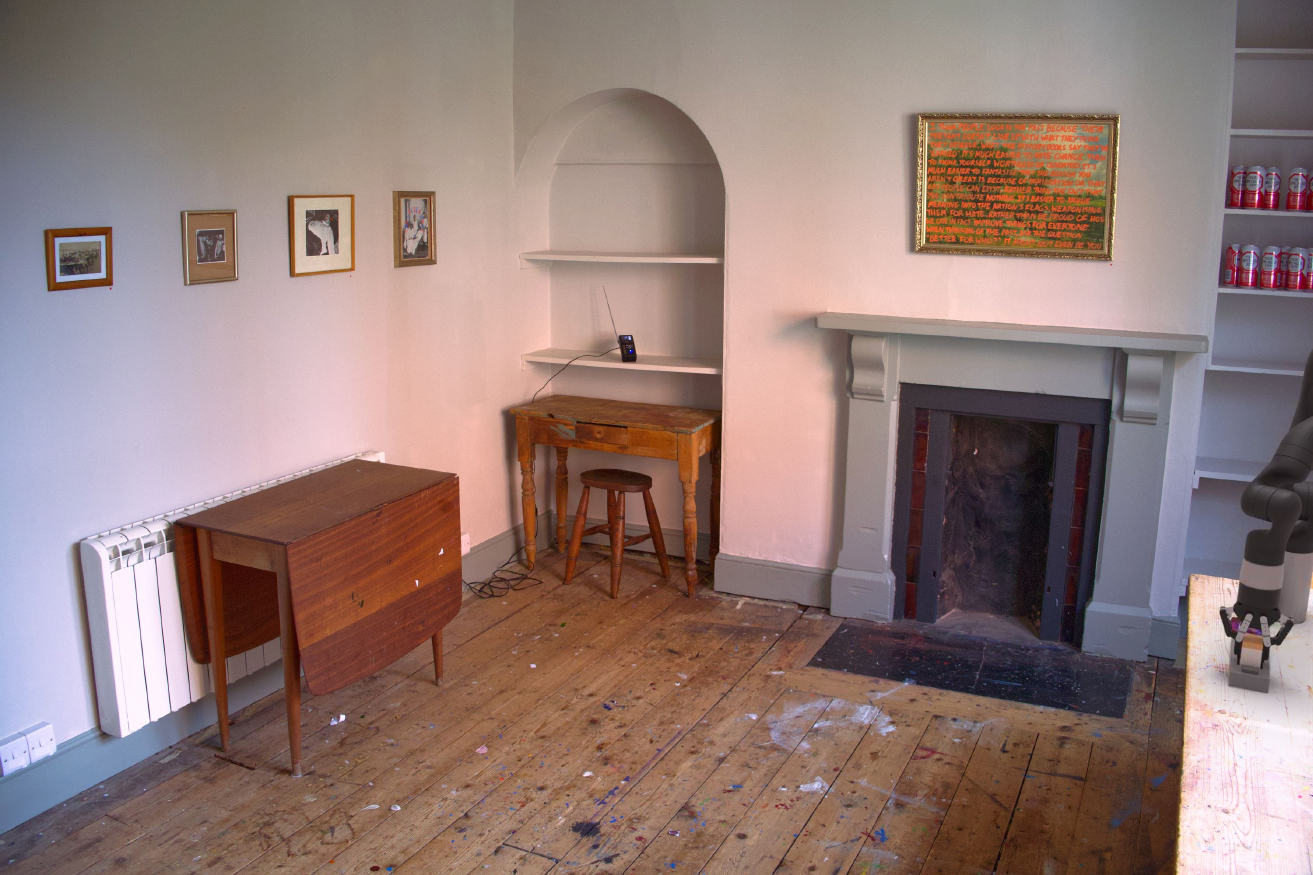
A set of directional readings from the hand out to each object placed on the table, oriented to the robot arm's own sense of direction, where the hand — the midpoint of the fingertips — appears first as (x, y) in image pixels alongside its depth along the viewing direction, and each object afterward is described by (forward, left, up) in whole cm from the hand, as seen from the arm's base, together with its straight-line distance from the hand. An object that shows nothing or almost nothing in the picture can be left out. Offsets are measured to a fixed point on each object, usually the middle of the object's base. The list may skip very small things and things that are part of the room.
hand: (1250, 658), depth 215 cm
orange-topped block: (0, 0, -4) cm, 4 cm away
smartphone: (-24, -6, -5) cm, 25 cm away
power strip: (-4, -1, -5) cm, 6 cm away
